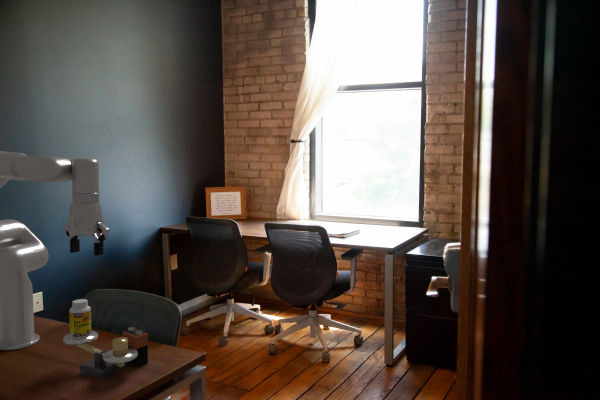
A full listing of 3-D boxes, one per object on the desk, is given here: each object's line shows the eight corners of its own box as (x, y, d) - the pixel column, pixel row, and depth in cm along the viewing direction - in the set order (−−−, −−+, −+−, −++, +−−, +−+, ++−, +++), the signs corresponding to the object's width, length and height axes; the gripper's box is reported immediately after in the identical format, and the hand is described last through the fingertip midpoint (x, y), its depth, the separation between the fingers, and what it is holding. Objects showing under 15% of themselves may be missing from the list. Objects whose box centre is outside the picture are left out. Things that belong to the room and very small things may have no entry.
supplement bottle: (71, 341, 132) (70, 304, 131) (68, 335, 137) (67, 299, 136) (93, 337, 135) (92, 301, 134) (89, 331, 140) (88, 297, 139)
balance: (56, 370, 134) (55, 339, 133) (81, 358, 142) (81, 329, 142) (122, 385, 126) (121, 351, 125) (144, 371, 134) (144, 340, 133)
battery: (135, 357, 143) (134, 325, 143) (148, 363, 139) (148, 330, 139) (122, 362, 140) (121, 328, 139) (135, 368, 136) (135, 334, 135)
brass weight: (109, 355, 130) (108, 341, 129) (119, 350, 133) (119, 336, 133) (120, 357, 128) (120, 343, 128) (131, 352, 132) (131, 338, 132)
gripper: (54, 198, 147) (56, 253, 148) (98, 200, 140) (99, 258, 141) (74, 196, 154) (75, 249, 155) (116, 199, 147) (117, 254, 148)
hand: (86, 253), depth 148 cm, fingers open, 9 cm apart
